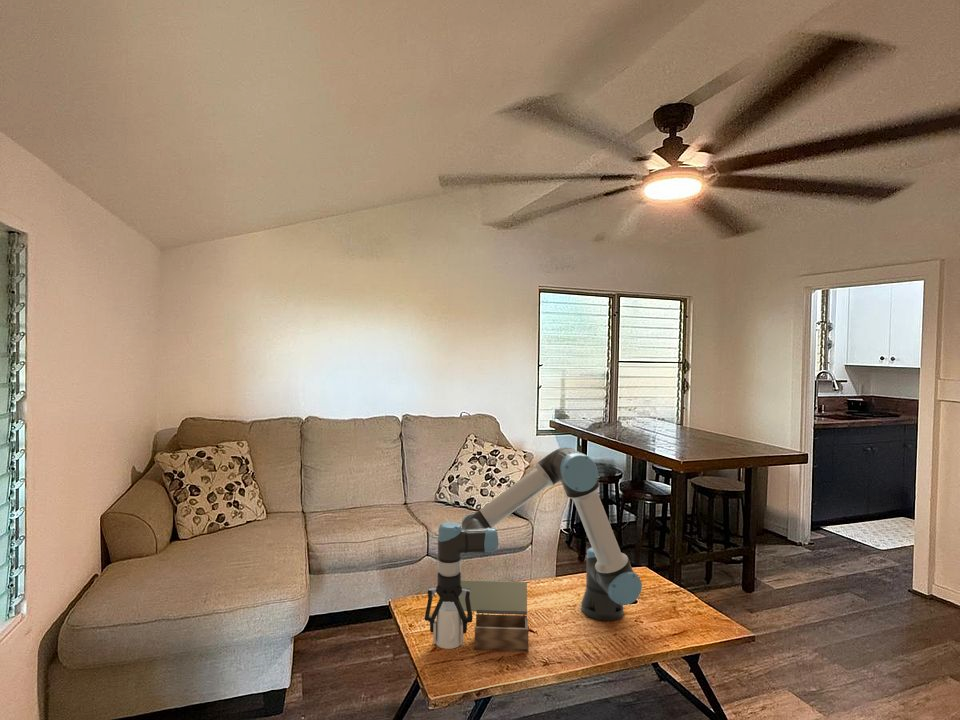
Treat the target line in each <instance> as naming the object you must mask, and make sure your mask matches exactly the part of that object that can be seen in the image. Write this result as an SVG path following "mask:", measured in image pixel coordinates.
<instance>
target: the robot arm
mask: <svg viewBox="0 0 960 720" xmlns="http://www.w3.org/2000/svg"><path fill="white" fill-rule="evenodd" d="M598 478H599V470H598V467H597V464H596V463H595V461H593V459H592V458H591V457H590V456H589V455H587V454H585V453H583V452H580V451H578V450H575V449H574V448H572V447H567V446H565V447H560V448H557V449H555V450H553V451H552V452H550V453H549V454H547V455H546V456H544V457H543V458H541V460H539V461H538V462H537V463H536V464H535V468H533V469H531V471H529V472H528V473H527V474H525V475H524V476H523V477H522V478H520V479H519V480H517V481H516V482H515V483H513V484H512V485H511V486H509V487H508V488H506V490H504V491H503V492H502V493H500V494H499V495H498V496H496V497H495V498H494V499H492V500H491V501H489V502H488V503H487V504H486V505H485V506H482V508H481V509H479V510H477V511H476V512H475V513H468V514H466V515H465V516H464V517H463V518H462V520H461V524H460V523H459V522H455V521H446V522H442V523H441V524H440V525H439V526H438V534H437V535H438V536H437V586H436V587H434V588H433V587H429V588H428V590H427V597H428V599H427V604H426V609H425V615H424V621H426V622H429V632H430V633H433V637H432V640H433V641H432V642H433V643H432V644H434V645H437V644H436V638H437V614H438V611H439V609H440V607H441V605H442V603H443V601H444V602H448V601H449V602H454V604H455V605H456V608H457V610H458V612H459V615H460V617H461V634H460V646H464V634H467V630H468V623H472V622H473V612H472V610H471V604H470V597H469V595H470V589H467V590H466V589H462V587H461V580H462V578H461V577H462V573H461V570H462V554H480V553H481V554H482V553H483V554H484V553H485V554H487V553H492V552H493V553H494V552H497V550H498V548H499V533H498V531H497V529H496V528H495V526H497V524H499V523H500V522H501V521H503V520H505V519H506V518H507V517H508V516H510V515H511V514H512V513H514V512H515V511H516V510H518V509H519V508H521V506H523V505H524V504H526V503H527V502H528V501H529V500H531V499H532V498H534V497H535V496H536V495H537V494H539V493H540V492H541V491H543V490H545V489H546V488H547V487H549V486H554V485H556V484H558V483H559V482H561V484H562V487H563V490H564V492H565V495H566V497H567V498H569V499H571V500H573V503H574V506H575V508H576V511H577V513H578V516H579V518H580V521H581V523H582V525H583V528H584V531H585V533H586V537H587V539H588V541H589V543H590V545H591V546H590V547H589V548H588V549H587V550H586V557H585V558H586V570H585V571H586V572H585V573H586V588H585V590H584V594H583V597H582V599H581V602H580V603H581V606H580V608H581V609H580V610H581V612H582V613H583V614H584V615H585V616H587V617H588V618H591V619H594V620H598V621H604V622H605V621H606V622H609V621H610V622H611V621H616V620H618V619H621V618H622V617H623V616H624V609H625V608H624V606H628V605H630V604H633V603H634V602H636V601H637V600H638V599H639V597H640V595H641V593H642V591H643V583H642V580H641V578H640V577H639V575H638V574H637V573H636V572H635V571H634V570H633V567H632V566H631V565H632V564H631V562H630V559H629V557H628V555H626V553H623V552H621V548H620V546H619V543H618V541H617V539H616V536H615V533H614V531H613V529H612V526H611V523H610V521H609V517H608V515H607V513H606V510H605V508H604V505H603V503H602V501H601V498H600V495H599V492H598V489H599V488H600V482H599V479H598ZM461 593H463V596H464V597H465V602H466V609H467V611H464V610H463V607H462V605H461V603H460V600H459V595H460V594H461ZM435 594H437V595H438V597H439V598H438V601H437V604H436V605H435V608H434V610H433V612H432V614H431V608H432V602H433V599H434V596H435ZM430 614H431V615H430ZM466 614H467V615H466Z"/></svg>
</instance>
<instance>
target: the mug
mask: <svg viewBox="0 0 960 720" xmlns="http://www.w3.org/2000/svg"><path fill="white" fill-rule="evenodd" d="M436 620H437V638H436V644H435V645H436V646H437V647H439V648H441V649H444V650H452V649H455V648H458V647H460V646H461V645H460V634H461V620H462V619H461V617H460V615H459V612H458V610H457V608H456V605H455V604H454V602H449V601H448V602H444V601H443V603H442V605H441V607H440V609H439V611H438V614H437V616H436Z"/></svg>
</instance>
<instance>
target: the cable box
mask: <svg viewBox="0 0 960 720" xmlns="http://www.w3.org/2000/svg"><path fill="white" fill-rule="evenodd" d="M474 650H475V651H495V652H497V651H498V652H500V651H501V652H505V651H506V652H529V621H528V615H517V614H483V613H476V614H475V626H474Z"/></svg>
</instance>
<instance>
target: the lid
mask: <svg viewBox="0 0 960 720" xmlns="http://www.w3.org/2000/svg"><path fill="white" fill-rule="evenodd" d="M461 587H462V589H466V590H467V589H470V595H469V597H470V604H471V610H472V613H474V612H475V613H476V614H488V615H522V616H528V582H527V581H504V580H503V581H501V580H500V581H498V580H467V579H465V580H463V579H461ZM459 600H460V603H461V605H462V607H463V610H464V612H467V609H466V602H465V597H464V596H463V593H461V594H460V595H459Z"/></svg>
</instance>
